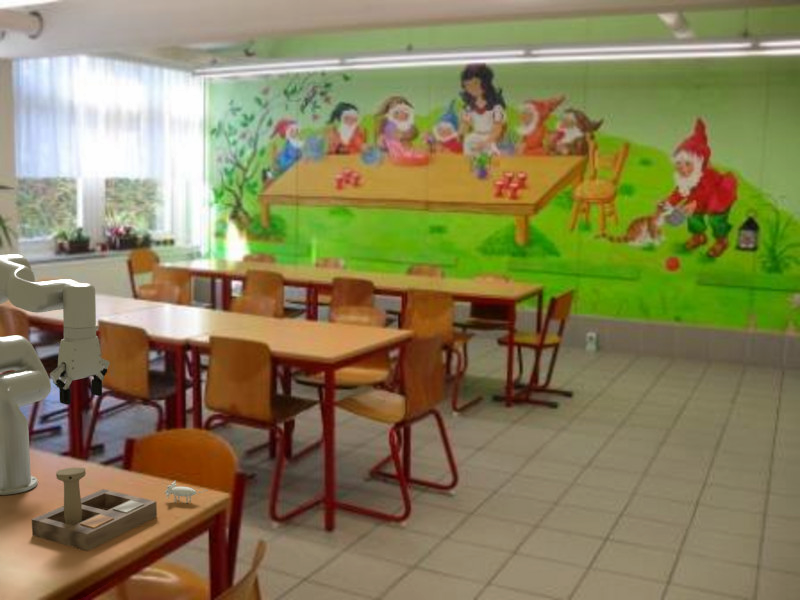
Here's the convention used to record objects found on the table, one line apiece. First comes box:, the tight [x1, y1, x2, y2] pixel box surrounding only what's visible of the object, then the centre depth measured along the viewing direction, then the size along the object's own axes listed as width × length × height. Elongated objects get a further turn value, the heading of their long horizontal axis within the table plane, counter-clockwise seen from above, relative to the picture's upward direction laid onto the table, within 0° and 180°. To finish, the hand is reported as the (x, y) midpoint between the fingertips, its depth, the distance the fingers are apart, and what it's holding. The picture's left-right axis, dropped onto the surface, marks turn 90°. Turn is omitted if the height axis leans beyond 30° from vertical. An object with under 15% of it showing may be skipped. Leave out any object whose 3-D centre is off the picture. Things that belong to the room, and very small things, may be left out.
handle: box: [55, 467, 87, 526], centre depth 195 cm, size 5×6×15 cm
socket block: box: [31, 488, 158, 552], centre depth 199 cm, size 18×22×4 cm
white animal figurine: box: [164, 480, 208, 504], centre depth 214 cm, size 12×5×5 cm, turn 77°
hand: (81, 399), depth 207 cm, fingers open, 9 cm apart
